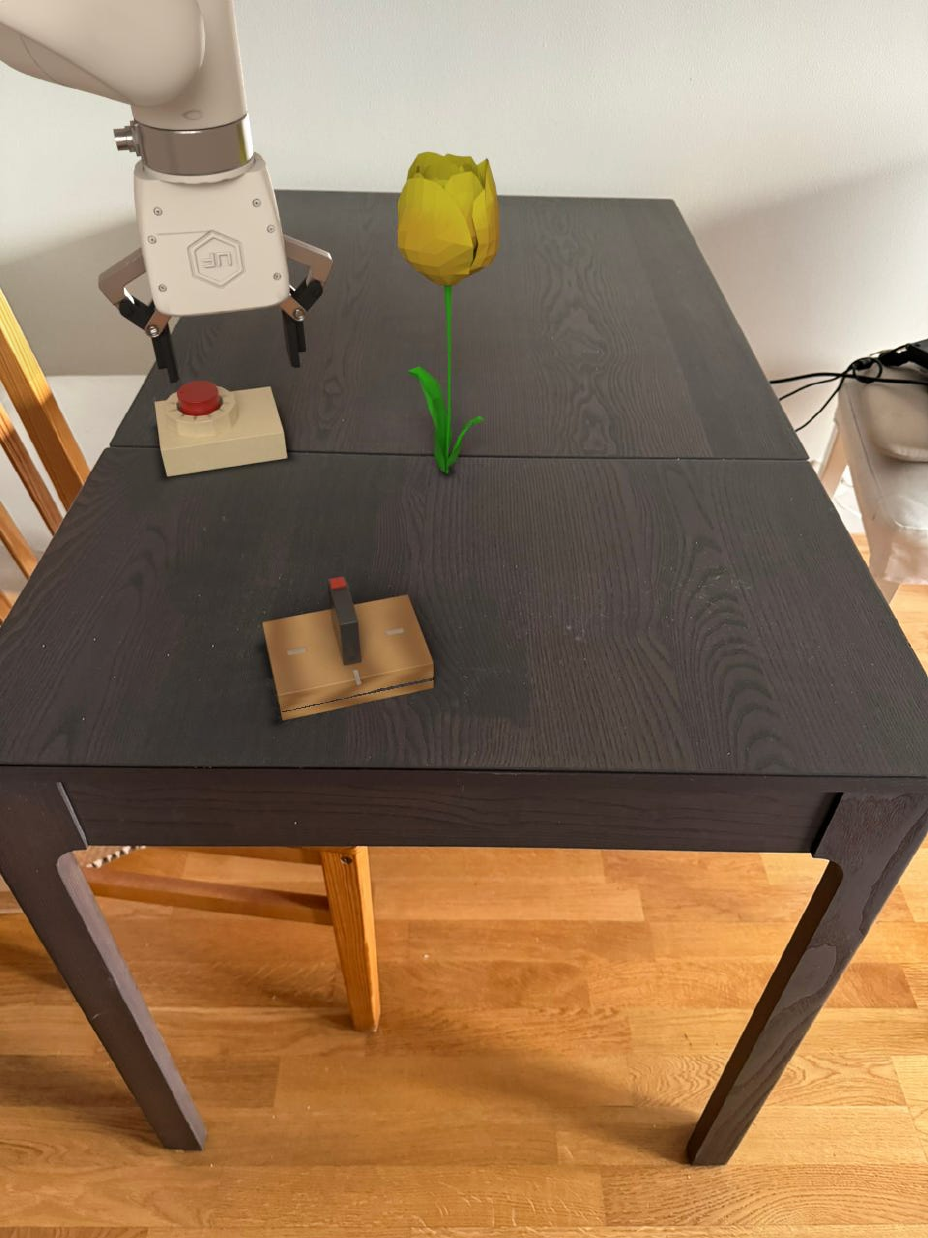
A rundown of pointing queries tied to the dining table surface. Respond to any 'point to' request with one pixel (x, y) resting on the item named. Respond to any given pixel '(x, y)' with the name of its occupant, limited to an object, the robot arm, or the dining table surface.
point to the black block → (344, 621)
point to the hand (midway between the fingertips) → (234, 366)
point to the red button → (198, 398)
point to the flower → (447, 251)
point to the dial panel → (315, 663)
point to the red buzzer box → (221, 432)
